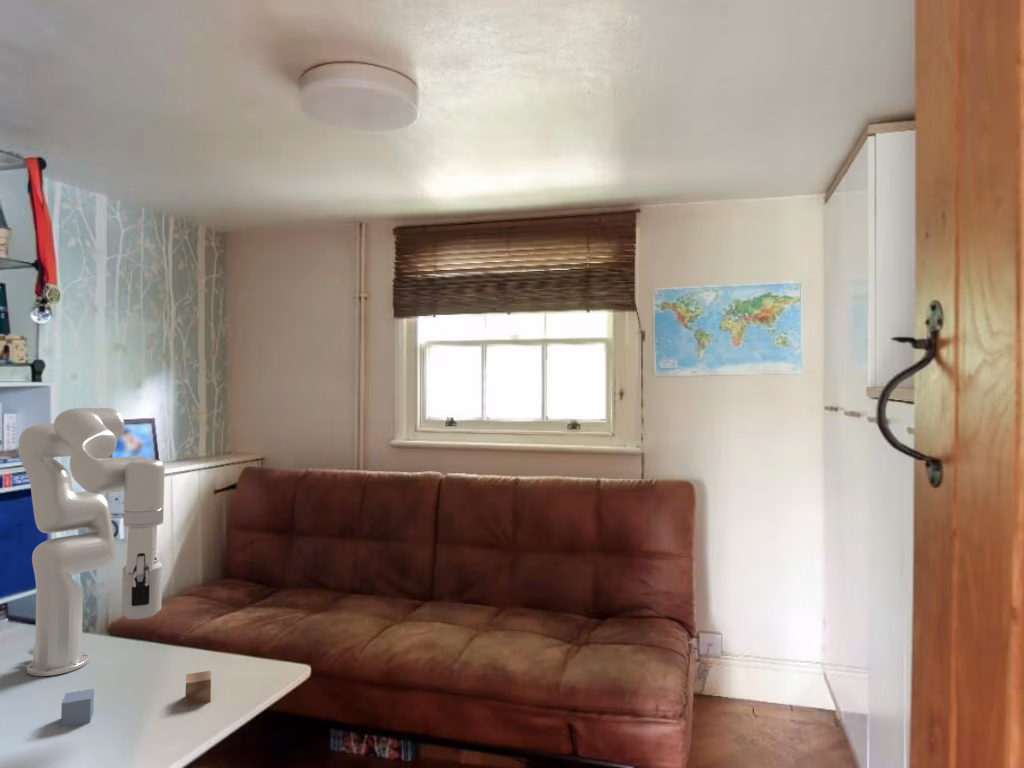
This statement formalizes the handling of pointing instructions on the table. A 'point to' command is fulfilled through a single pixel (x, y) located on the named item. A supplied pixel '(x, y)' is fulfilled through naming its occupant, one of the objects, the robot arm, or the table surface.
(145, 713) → the table surface
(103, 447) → the robot arm
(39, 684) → the table surface
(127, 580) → the can
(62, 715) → the slate block
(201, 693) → the walnut block
